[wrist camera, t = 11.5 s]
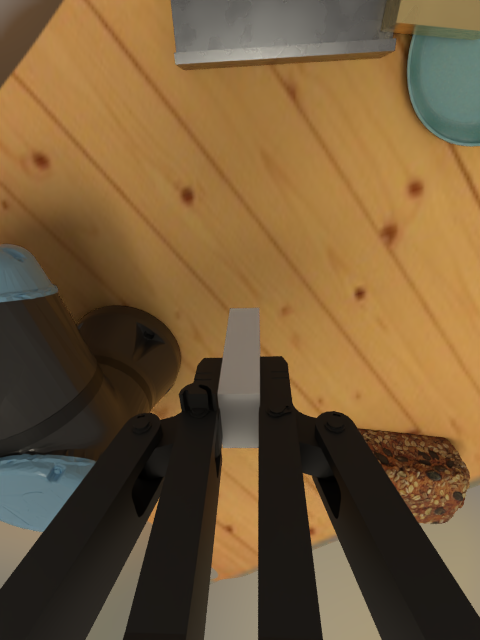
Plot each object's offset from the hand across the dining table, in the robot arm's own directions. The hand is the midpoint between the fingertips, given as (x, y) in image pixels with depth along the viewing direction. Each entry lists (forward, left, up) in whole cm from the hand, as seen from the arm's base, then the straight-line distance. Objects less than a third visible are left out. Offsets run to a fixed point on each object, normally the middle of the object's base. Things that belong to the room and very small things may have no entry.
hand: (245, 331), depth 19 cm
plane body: (+3, +18, -24) cm, 30 cm away
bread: (+20, -38, -25) cm, 49 cm away
